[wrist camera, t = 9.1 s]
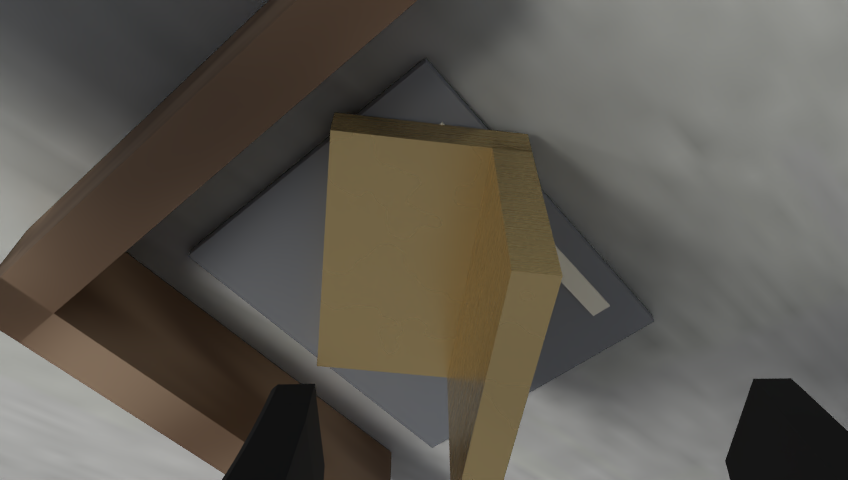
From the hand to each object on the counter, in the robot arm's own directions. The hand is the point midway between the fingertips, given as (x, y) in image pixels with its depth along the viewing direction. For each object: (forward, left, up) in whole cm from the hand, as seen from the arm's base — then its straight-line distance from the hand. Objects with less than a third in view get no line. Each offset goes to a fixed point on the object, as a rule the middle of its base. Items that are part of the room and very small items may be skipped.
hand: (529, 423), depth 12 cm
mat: (+2, -4, -9) cm, 10 cm away
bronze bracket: (+1, -3, -9) cm, 10 cm away
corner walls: (0, -4, -9) cm, 10 cm away
